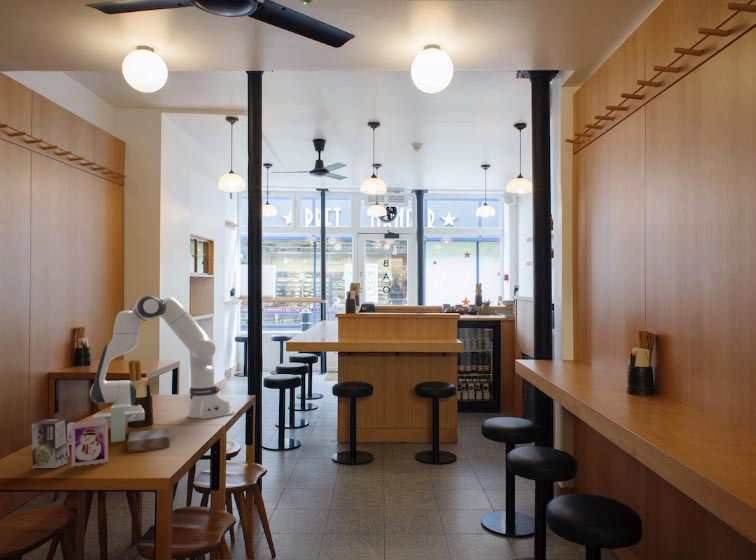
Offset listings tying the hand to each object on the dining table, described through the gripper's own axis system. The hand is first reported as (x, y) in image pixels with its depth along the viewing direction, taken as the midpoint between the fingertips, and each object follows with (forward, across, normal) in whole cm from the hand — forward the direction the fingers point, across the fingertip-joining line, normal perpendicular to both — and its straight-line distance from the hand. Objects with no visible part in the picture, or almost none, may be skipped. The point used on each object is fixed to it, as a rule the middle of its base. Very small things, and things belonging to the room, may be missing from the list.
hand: (117, 421), depth 213 cm
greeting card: (+27, -7, +8) cm, 29 cm away
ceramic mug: (-5, -18, +8) cm, 20 cm away
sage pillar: (-1, 0, +8) cm, 8 cm away
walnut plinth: (+12, +12, +8) cm, 19 cm away
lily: (+12, -20, +8) cm, 24 cm away
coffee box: (+25, -20, +8) cm, 33 cm away
